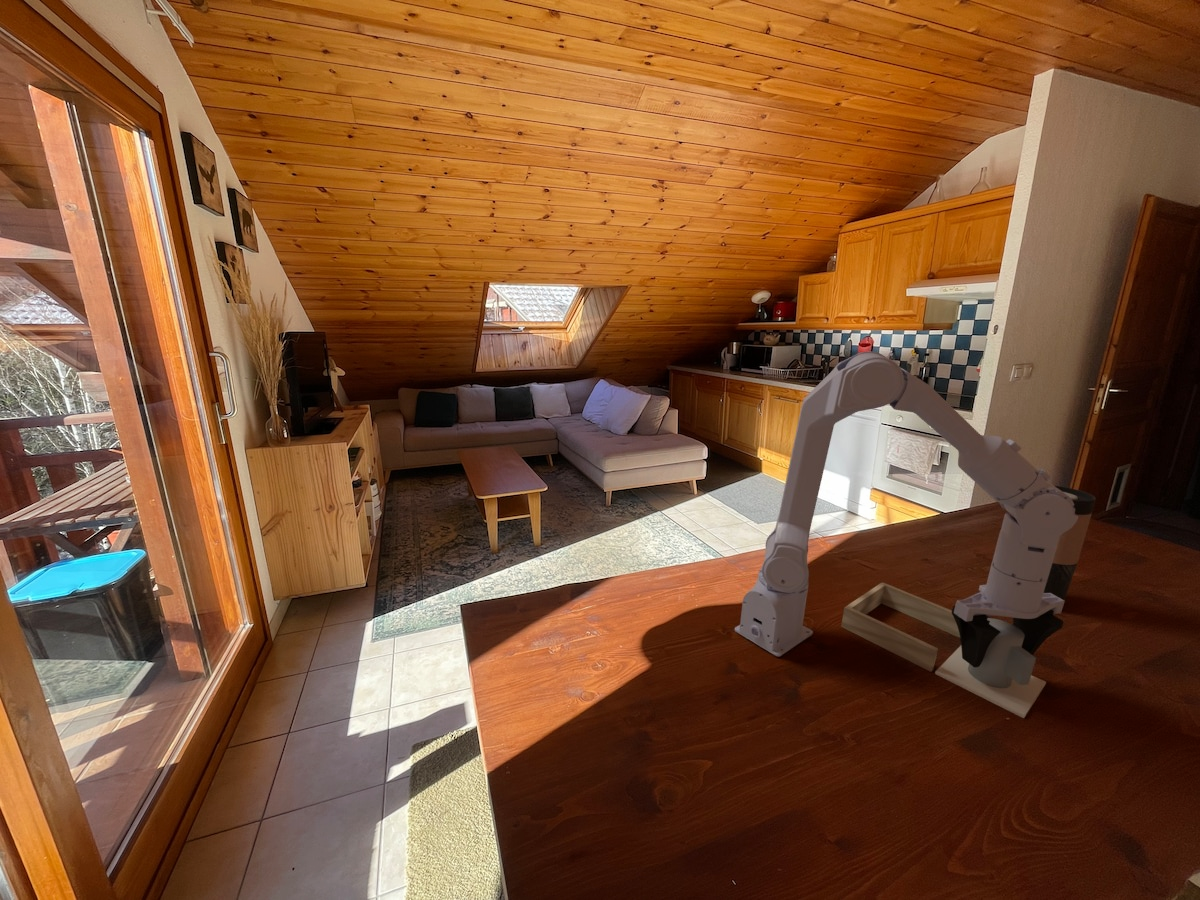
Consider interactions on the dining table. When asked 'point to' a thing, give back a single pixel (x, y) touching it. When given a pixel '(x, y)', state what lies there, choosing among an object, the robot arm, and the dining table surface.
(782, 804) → the dining table surface
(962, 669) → the coaster
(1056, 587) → the travel mug
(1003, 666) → the grey domed cylinder
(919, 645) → the frame
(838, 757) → the dining table surface
